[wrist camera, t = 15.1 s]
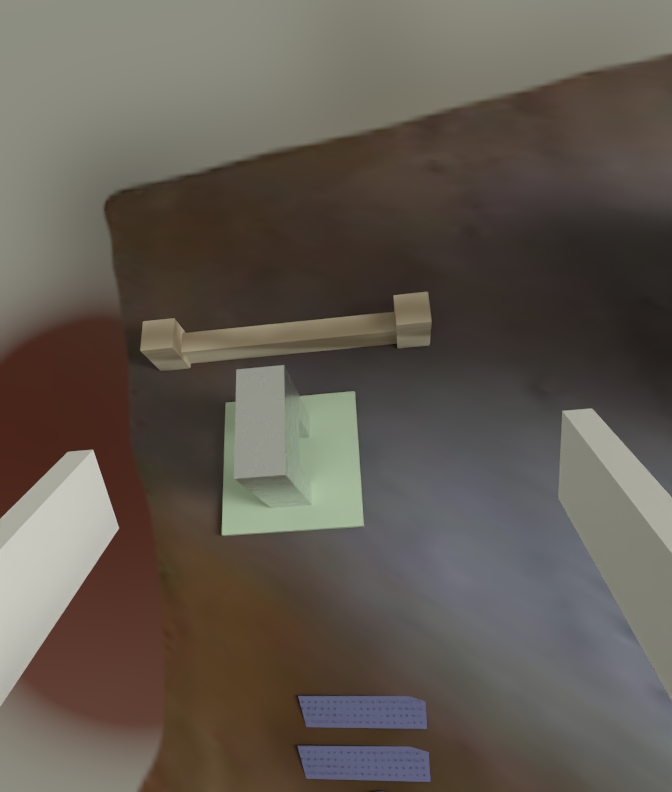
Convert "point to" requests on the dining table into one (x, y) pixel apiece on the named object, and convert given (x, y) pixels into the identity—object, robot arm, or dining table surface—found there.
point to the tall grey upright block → (270, 437)
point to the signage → (364, 759)
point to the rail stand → (288, 336)
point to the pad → (320, 460)
